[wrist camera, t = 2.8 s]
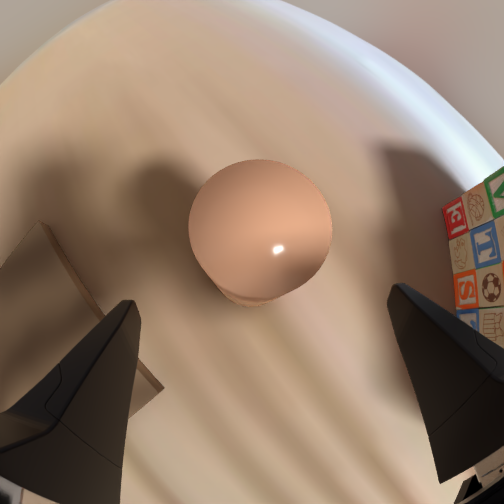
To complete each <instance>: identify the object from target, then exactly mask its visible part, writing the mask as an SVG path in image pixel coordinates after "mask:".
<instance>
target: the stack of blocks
mask: <svg viewBox="0 0 504 504" xmlns="http://www.w3.org/2000/svg"><path fill="white" fill-rule="evenodd" d="M442 209H443V214H444V218H445V223H446V227H447V233H448V238H449V249H450V256H451V263H452V270H453V274H454V276H453V279H454V290H455V304H456V309H457V318H459V319H460V320H462V321H463V322H465V323H466V324H468V325H469V326H471V327H472V328H473V329H475V330H477V331H478V332H479V333H481V334H482V335H484V336H485V337H487V338H488V339H490V340H491V341H493V342H494V343H496V344H498V345H499V346H501V347H503V348H504V166H503V167H502V168H500V169H499V170H497V171H496V172H494V173H493V174H492V175H490V176H489V177H487V178H485V179H484V181H483V182H482V183H480V184H478V185H476V186H475V187H473V188H472V189H470V190H468V191H467V192H465V193H463V194H462V196H460V197H458V198H457V199H455V200H453V201H452V202H450V203H448V204H447V205H445V206H444V207H442Z"/></svg>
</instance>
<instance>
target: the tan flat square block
mask: <svg viewBox="0 0 504 504" xmlns="http://www.w3.org/2000/svg"><path fill="white" fill-rule="evenodd" d="M104 317H105V315H104V314H103V313H102V311H101V310H100V308H99V307H98V306H97V304H96V303H95V301H94V300H93V298H92V297H91V295H90V294H89V293H88V291H87V290H86V288H85V287H84V285H83V284H82V282H81V280H80V279H79V277H78V276H77V274H76V273H75V271H74V269H73V268H72V266H71V265H70V263H69V261H68V260H67V258H66V256H65V255H64V253H63V251H62V249H61V248H60V246H59V244H58V242H57V241H56V239H55V237H54V235H53V233H52V232H51V230H50V228H49V226H48V225H46V224H44V223H42V222H41V221H38V222H37V223H36V224H35V225H34V227H33V228H32V229H31V230H30V231H29V232H28V234H27V235H26V236H25V237H24V238H23V240H22V241H21V242H20V243H19V245H18V246H17V247H16V248H15V250H14V251H13V252H12V254H11V255H10V256H9V258H8V259H7V260H6V262H5V263H4V264H3V266H2V267H1V268H0V413H1V412H3V411H6V410H7V409H9V408H10V407H11V406H13V405H14V404H15V403H16V402H17V401H18V400H19V399H20V398H21V397H23V396H24V395H25V394H26V393H27V392H28V391H29V390H30V389H32V388H33V387H34V386H35V385H36V384H37V383H38V382H39V381H40V380H41V379H43V378H44V377H45V376H46V375H47V374H48V373H49V372H50V371H51V370H52V369H53V368H54V366H55V365H56V364H57V363H59V362H60V360H61V359H62V358H63V357H64V356H65V355H66V354H67V353H68V352H69V351H70V350H71V349H72V348H73V347H74V346H75V345H76V344H77V343H78V342H79V341H80V340H81V339H82V338H83V337H84V336H85V335H86V334H87V333H88V332H89V331H90V330H91V329H93V328H94V327H95V326H96V325H97V324H98V323H99V322H100V321H101V320H102V319H103V318H104ZM163 389H164V387H163V386H162V385H161V384H160V382H159V381H158V380H157V379H156V378H155V377H154V376H153V375H152V374H151V372H150V371H149V370H148V369H147V368H146V367H145V366H144V364H143V363H142V362H141V361H140V360H139V359H138V363H137V369H136V374H135V379H134V385H133V391H132V397H131V403H130V409H129V416H128V419H129V418H130V417H131V416H132V415H134V414H135V413H136V412H137V411H138V410H140V409H141V408H142V407H143V406H144V405H146V404H147V403H148V402H149V401H150V400H152V399H153V398H154V397H155V396H156V395H157V394H159V393H160V392H161V391H162V390H163Z"/></svg>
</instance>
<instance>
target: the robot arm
mask: <svg viewBox="0 0 504 504" xmlns="http://www.w3.org/2000/svg"><path fill="white" fill-rule="evenodd" d="M387 308H388V311H389V315H390V318H391V322H392V325H393V329H394V332H395V336H396V339H397V343H398V345H399V348H400V351H401V353H402V356H403V359H404V362H405V364H406V367H407V370H408V373H409V376H410V379H411V382H412V384H413V387H414V391H415V394H416V397H417V400H418V403H419V406H420V409H421V413H422V416H423V420H424V423H425V426H426V430H427V434H428V436H429V437H428V438H429V442H430V445H431V449H432V453H433V457H434V462H435V466H436V470H437V475H438V480H439V483H440V484H441V483H443V482H445V481H447V480H449V479H451V478H453V477H455V476H457V475H458V474H460V473H462V472H464V471H465V470H467V469H469V468H471V467H472V466H473V467H474V470H475V473H476V474H475V475H473V476H472V477H470V478H468V479H467V480H465V481H463V483H462V486H461V488H460V491H459V493H458V495H457V497H456V500H455V502H454V504H504V348H503V347H501V346H499V345H498V344H496V343H494V342H493V341H491V340H490V339H488V338H487V337H485V336H484V335H482V334H481V333H479V332H478V331H477V330H475V329H473V328H472V327H471V326H469V325H468V324H466V323H465V322H463V321H462V320H460V319H459V318H457V317H456V316H454V315H453V314H451V313H450V312H448V311H447V310H445V309H444V308H442V307H441V306H439V305H438V304H436V303H435V302H433V301H432V300H430V299H429V298H427V297H425V296H424V295H422V294H421V293H419V292H418V291H416V290H414V289H413V288H411V287H410V286H408V285H406V284H405V283H396V284H394V285H393V286H392V288H391V291H390V294H389V297H388V300H387ZM140 330H141V317H140V314H139V311H138V309H137V306H136V303H135V301H134V300H122V301H121V302H120V303H119V304H118V305H117V306H116V307H114V308H113V309H112V310H111V311H110V312H109V313H108V314H107V315H106V316H105V317H104V318H103V319H102V320H101V321H100V322H99V323H98V324H97V325H96V326H95V327H94V328H93V329H91V330H90V331H89V332H88V333H87V334H86V335H85V336H84V337H83V338H82V339H81V340H80V341H79V342H78V343H77V344H76V345H75V346H74V347H73V348H72V349H71V350H70V351H69V352H68V353H67V354H66V355H65V356H64V357H63V358H62V359H61V360H60V362H59V363H57V364H56V365H55V366H54V368H53V369H52V370H51V371H50V372H49V373H48V374H47V375H46V376H45V377H44V378H43V379H41V380H40V381H39V382H38V383H37V384H36V385H35V386H34V387H33V388H32V389H30V390H29V391H28V392H27V393H26V394H25V395H24V396H23V397H21V398H20V399H19V400H18V401H17V402H16V403H15V404H14V405H13V406H11V407H10V408H9V409H7V410H6V411H3V412H1V413H0V504H120V491H121V478H122V465H123V455H124V446H125V438H126V430H127V423H128V416H129V409H130V403H131V397H132V391H133V385H134V379H135V374H136V369H137V363H138V353H139V341H140Z"/></svg>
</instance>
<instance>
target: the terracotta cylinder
mask: <svg viewBox="0 0 504 504" xmlns="http://www.w3.org/2000/svg"><path fill="white" fill-rule="evenodd" d="M188 231H189V239H190V243H191V247H192V250H193V252H194V254H195V257H196V259H197V260H198V262H199V264H200V265H201V267H202V268H203V269H204V270H205V272H206V273H207V274H208V276H209V277H210V278H211V279H212V281H213V282H214V283H215V285H216V286H217V287H218V288H219V290H220V291H221V292H222V293H223V295H224V296H226V297H227V298H228V299H229V300H231V301H232V302H234V303H236V304H239V305H242V306H249V307H253V306H260V305H263V304H266V303H268V302H270V301H272V300H274V299H276V298H278V297H280V296H282V295H284V294H286V293H288V292H290V291H292V290H294V289H296V288H298V287H300V286H301V285H303V284H304V283H306V282H307V281H308V280H309V279H310V278H312V277H313V276H314V275H315V273H316V272H317V271H318V270H319V269H320V267H321V266H322V264H323V262H324V261H325V259H326V256H327V254H328V252H329V248H330V245H331V239H332V221H331V215H330V211H329V208H328V206H327V203H326V201H325V199H324V197H323V195H322V193H321V192H320V191H319V189H318V188H317V187H316V185H315V184H314V183H313V182H312V181H311V180H310V179H309V178H307V177H306V176H305V175H304V174H302V173H301V172H299V171H298V170H296V169H294V168H292V167H290V166H288V165H285V164H283V163H280V162H275V161H271V160H247V161H242V162H238V163H235V164H232V165H230V166H227V167H226V168H224V169H222V170H220V171H219V172H217V173H216V174H214V175H213V176H212V177H211V178H210V179H209V180H208V181H207V182H206V183H205V184H204V185H203V186H202V188H201V189H200V191H199V192H198V194H197V195H196V197H195V199H194V202H193V204H192V207H191V211H190V215H189V226H188Z"/></svg>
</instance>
